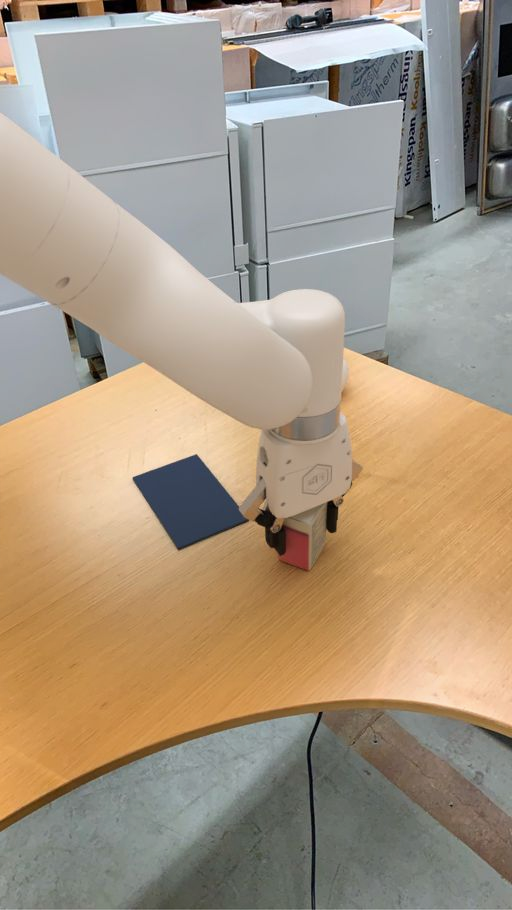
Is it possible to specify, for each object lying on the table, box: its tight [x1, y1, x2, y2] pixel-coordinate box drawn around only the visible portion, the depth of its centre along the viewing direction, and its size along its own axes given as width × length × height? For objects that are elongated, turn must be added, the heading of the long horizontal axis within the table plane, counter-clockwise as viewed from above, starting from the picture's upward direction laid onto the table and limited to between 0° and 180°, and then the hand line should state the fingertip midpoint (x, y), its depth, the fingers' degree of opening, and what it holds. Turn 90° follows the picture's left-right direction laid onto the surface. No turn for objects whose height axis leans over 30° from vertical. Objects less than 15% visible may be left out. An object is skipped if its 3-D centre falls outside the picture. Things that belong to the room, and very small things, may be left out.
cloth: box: [132, 453, 250, 551], centre depth 88 cm, size 10×16×1 cm, turn 29°
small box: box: [277, 502, 327, 571], centre depth 77 cm, size 5×4×8 cm
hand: (302, 535), depth 78 cm, fingers closed on small box, 6 cm apart
